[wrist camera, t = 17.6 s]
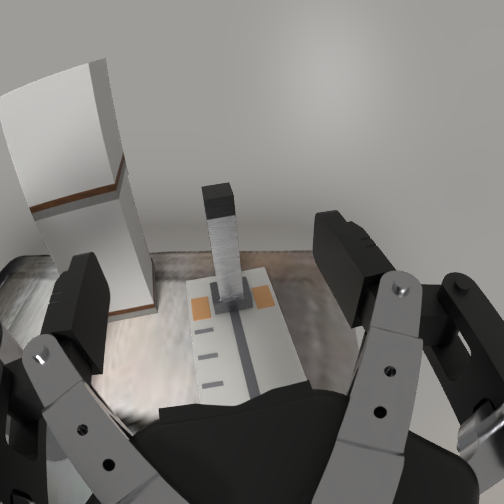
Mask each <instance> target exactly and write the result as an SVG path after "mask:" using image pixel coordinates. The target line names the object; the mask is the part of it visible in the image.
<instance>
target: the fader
mask: <svg viewBox="0 0 504 504" xmlns="http://www.w3.org/2000/svg"><path fill="white" fill-rule="evenodd" d="M202 193H203V200H204V206H205V213H206V219H207V225H208V232H209V238H210V244H211V250H212V256H213V262H214V268H215V274H216V280H217V282H212V283H210V289H211V295H212V300H213V306H214V311H215V315H216V314H222V313H227V312H233V311H238V310H243V309H248V308H253V300H252V295H251V291H250V288H249V285H248V281H247V278H246V276H245V277H242V275H241V265H240V255H239V246H238V235H237V225H236V215H235V205H234V195H233V192H232V189H231V186H230V184H229V183H222V184H216V185H210V186H204V187H202Z"/></svg>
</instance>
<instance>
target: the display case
mask: <svg viewBox="0 0 504 504" xmlns="http://www.w3.org/2000/svg"><path fill="white" fill-rule="evenodd" d="M0 121H1V125H2V128H3V132H4V135H5V139H6V142H7V146H8V149H9V152H10V155H11V159H12V162H13V165H14V168H15V171H16V173H17V177H18V179H19V182H20V185H21V188H22V190H23V193H24V196H25V198H26V200H27V203H28V206H29V208H30V211H31V213H32V215H33V218H34V220H35V222H36V225H37V227H38V229H39V232H40V234H41V236H42V239H43V241H44V243H45V245H46V247H47V249H48V252H49V254H50V256H51V258H52V260H53V262H54V264H55V266H56V268H57V270H58V272H59V274H60V275H61V274H62V273H63V272H64V271H68V269H69V266H70V263H71V260H72V257H73V256H74V255H78V254H83V253H88V252H94V254H95V255H96V257H97V260H98V262H99V264H100V267H101V269H102V271H103V274H104V276H105V278H106V280H107V283H108V285H109V289H110V307H109V314H108V322H112V321H118V320H123V319H128V318H134V317H139V316H144V315H149V314H154V313H157V300H156V283H155V267H154V264H153V261H152V259H151V258H150V255H149V252H148V248H147V245H146V242H145V238H144V235H143V231H142V228H141V225H140V221H139V218H138V214H137V210H136V207H135V203H134V200H133V195H132V192H131V188H130V184H129V180H128V170H127V166H126V162H125V158H124V153H123V149H122V144H121V140H120V135H119V130H118V126H117V120H116V115H115V110H114V105H113V100H112V95H111V88H110V83H109V77H108V70H107V64H106V59H101V60H97V61H94V62H90V63H87V64H83V65H80V66H77V67H74V68H71V69H68V70H65V71H62V72H59V73H56V74H53V75H50V76H48V77H45V78H42V79H40V80H37V81H35V82H32V83H30V84H27V85H25V86H22V87H20V88H18V89H15V90H13V91H11V92H9V93H6V94H4V95H2V96H0Z"/></svg>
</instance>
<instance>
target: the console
mask: <svg viewBox="0 0 504 504" xmlns="http://www.w3.org/2000/svg"><path fill="white" fill-rule="evenodd" d="M241 275H242V277H245V276H246V278H247V281H248V285H249V288H250V291H251V295H252V300H253V308H248V309H243V310H238V311H233V312H227V313H222V314H216V315H215V311H214V306H213V300H212V295H211V289H210V283H212V282H217V280H216V276H212V277H206V278H200V279H195V280H189V281H186V290H187V300H188V310H189V320H190V329H191V338H192V346H193V354H194V362H195V370H196V377H197V384H198V391H199V398H200V404H207V405H223V406H236V405H239V404H242V403H244V402H246V401H248V400H250V399H253V398H255V397H257V396H259V395H261V394H263V393H265V392H267V391H269V390H271V389H275V388H279V387H283V386H287V385H291V384H295V383H299V382H303V381H307V379H306V376H305V373H304V371H303V368H302V365H301V363H300V360H299V357H298V355H297V352H296V349H295V346H294V344H293V341H292V338H291V336H290V333H289V330H288V328H287V325H286V322H285V320H284V317H283V314H282V312H281V309H280V306H279V304H278V301H277V298H276V296H275V293H274V290H273V288H272V285H271V282H270V280H269V277H268V274H267V272H266V269H265V267H261V268H256V269H250V270H245V271H241Z"/></svg>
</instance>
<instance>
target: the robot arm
mask: <svg viewBox="0 0 504 504" xmlns="http://www.w3.org/2000/svg"><path fill="white" fill-rule="evenodd" d="M313 255H314V259H315V262H316V264H317V266H318V268H319V270H320V271H321V273H322V275H323V277H324V279H325V280H326V282H327V284H328V286H329V288H330V290H331V291H332V293H333V295H334V297H335V299H336V301H337V302H338V304H339V306H340V308H341V310H342V312H343V314H344V316H345V317H346V319H347V321H348V323H349V325H350V327H351V328H355V327H358V326H363V327H364V329H365V333H364V336H363V339H362V343H361V347H360V350H359V354H358V357H357V360H356V364H355V367H354V370H353V374H352V377H351V380H350V383H349V385H348V388H347V391H346V394H345V395H344V394H341V393H337V392H334V391H328V390H319V389H312V387H311V385H310V382H309V380H307V381H303V382H299V383H295V384H291V385H287V386H283V387H279V388H275V389H271V390H269V391H267V392H265V393H263V394H261V395H259V396H257V397H255V398H253V399H250V400H248V401H246V402H244V403H242V404H239V405H236V406H223V405H207V404H189V405H182V406H175V407H167V408H159V418H160V419H157V420H155V421H153V422H151V423H149V424H147V425H146V426H144V427H143V428H141V429H140V430H139V431H138V432H136V433H135V434H134V435H133V433H132V432H131V431H130V430H129V429H128V428H127V427H126V426H125V425H124V424H123V423H122V422H121V420H120V419H119V418H118V417H117V416H116V415H115V413H114V412H113V411H112V410H111V408H110V407H109V406H108V405H107V403H106V402H105V401H104V400H103V398H102V397H101V396H100V394H99V393H98V392H97V391H96V389H95V388H94V387H93V385H92V384H91V377H92V375H97V374H103V363H104V351H105V341H106V331H107V322H108V314H109V307H110V289H109V285H108V283H107V280H106V278H105V276H104V274H103V271H102V269H101V267H100V264H99V262H98V260H97V257H96V255H95V254H94V252H88V253H83V254H78V255H74V256H73V257H72V260H71V263H70V266H69V269H68V271H64V272H63V273H62V274H61V275H60V277H59V278H58V279H57V281H56V282H55V285H54V289H53V292H52V295H51V298H50V301H49V302H50V304H49V305H48V308H47V312H46V315H45V319H44V322H43V326H42V330H41V333H40V335H39V336H37V337H35V338H33V339H32V340H31V341H30V342H29V343H28V344H27V345H26V347H25V349H24V350H23V349H22V348H21V347H20V345H19V344H18V343H17V342H16V340H15V339H14V338H13V337H12V335H11V334H10V333H9V332H8V330H7V329H6V328H5V326H4V325H3V324H2V322H1V321H0V504H48V493H47V471H46V459H47V460H52V461H58V460H62V459H65V458H67V457H68V458H69V460H70V461H71V463H72V464H73V466H74V467H75V469H76V470H77V472H78V473H79V474H80V476H81V477H82V479H83V480H84V481H85V483H86V484H87V485H88V487H89V488H90V489H91V491H92V492H93V494H92V495H91V496H90V498H89V499H88V501H87V502H86V504H479V495H480V494H481V493H483V492H484V491H486V490H487V489H489V488H490V487H492V486H493V485H495V484H496V483H497V482H499V481H500V480H502V479H503V478H504V321H503V320H502V318H501V317H500V315H499V314H498V313H497V311H496V310H495V308H494V307H493V306H492V304H491V303H490V302H489V300H488V299H487V297H486V296H485V295H484V293H483V292H482V291H481V290H480V288H479V287H478V286H477V284H476V283H475V282H474V281H473V280H472V279H471V278H469V277H468V276H466V275H464V274H461V273H456V272H455V273H449V274H447V275H446V276H445V277H444V279H443V281H442V284H441V285H426V284H420V282H419V281H418V279H416V278H415V277H414V276H413V275H411V274H409V273H407V272H403V271H396V269H395V268H394V267H393V265H392V264H391V263H390V262H389V260H388V259H387V258H386V257H385V255H384V254H383V253H382V251H381V250H380V249H379V248H378V246H376V244H375V243H374V241H373V240H372V239H370V236H369V235H368V234H367V233H366V231H365V230H364V229H363V228H362V227H360V226H358V225H357V224H355V223H353V222H352V221H350V222H346V220H345V219H344V218H343V217H342V215H341V214H340V213H339V212H338V211H337V210H333V211H327V212H320V213H317V214H316V215H315V222H314V237H313ZM459 331H460V332H461V334H462V336H463V337H464V339H465V341H466V342H467V344H468V346H469V347H470V350H471V356H470V354H469V353H468V351H467V349H466V348H465V346H464V344H463V343H462V341H461V339H460V338H459V336H458V332H459ZM422 349H423V351H424V353H425V354H426V356H427V358H428V360H429V362H430V364H431V366H432V367H433V370H434V372H435V374H436V376H437V378H438V379H439V381H440V383H441V385H442V387H443V390H444V392H445V394H446V396H447V398H448V400H449V402H450V404H451V406H452V408H453V410H454V412H455V415H456V417H457V419H458V421H459V423H460V429H459V431H458V443H457V450H458V452H459V453H460V456H458V455H456V454H454V453H452V452H450V451H448V450H446V449H444V448H442V447H440V446H438V445H436V444H434V443H432V442H430V441H428V440H426V439H424V438H422V437H421V436H419V435H417V434H415V433H413V432H411V431H410V430H409V426H410V421H411V417H412V411H413V406H414V401H415V396H416V390H417V384H418V378H419V371H420V364H421V357H422ZM5 433H6V434H7V435H8V436H9V445H8V444H7V441H6V437H5Z"/></svg>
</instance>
